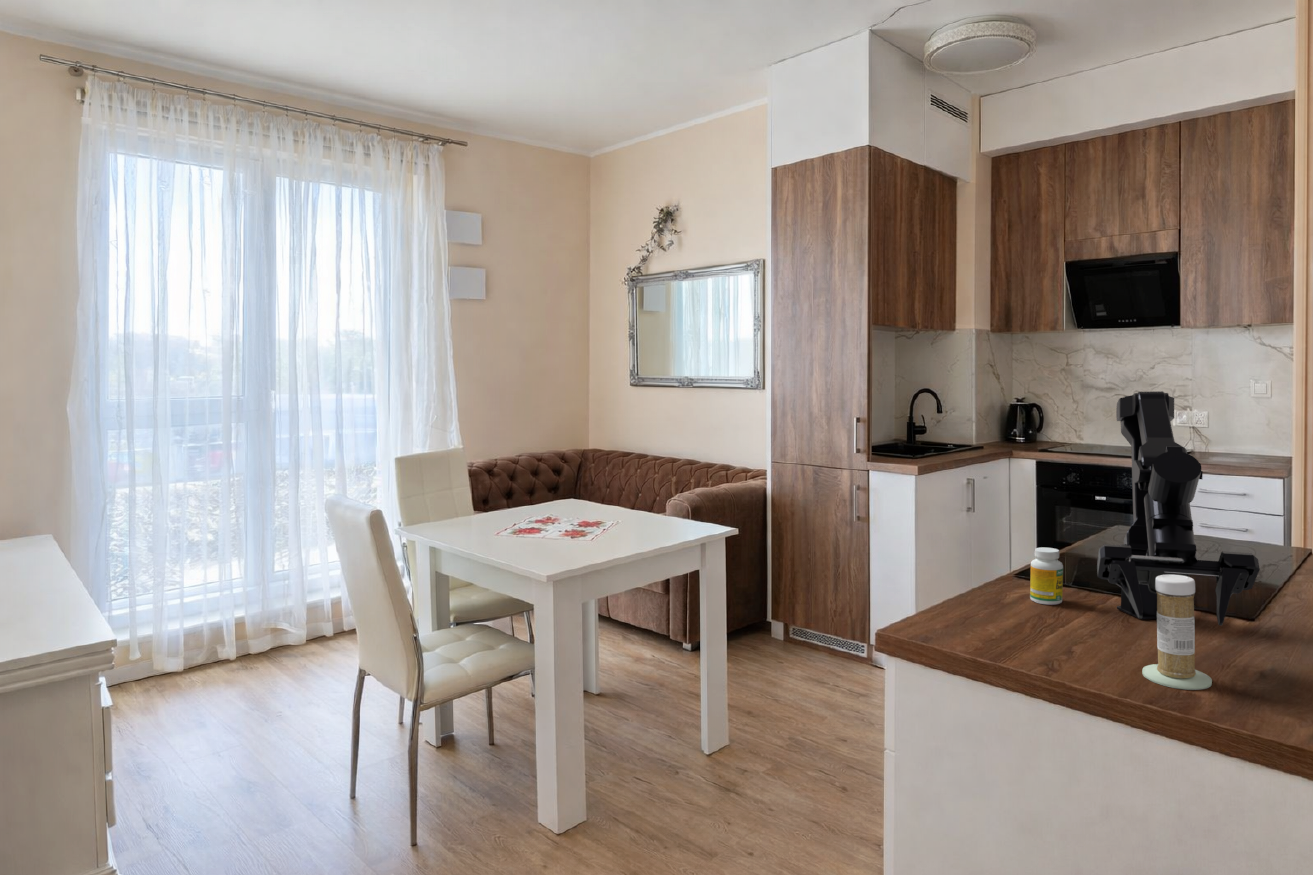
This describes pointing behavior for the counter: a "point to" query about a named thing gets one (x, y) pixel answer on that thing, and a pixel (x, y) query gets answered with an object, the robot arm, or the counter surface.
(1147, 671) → the mat
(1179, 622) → the sprinkles bottle
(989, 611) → the counter surface
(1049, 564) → the supplement bottle
